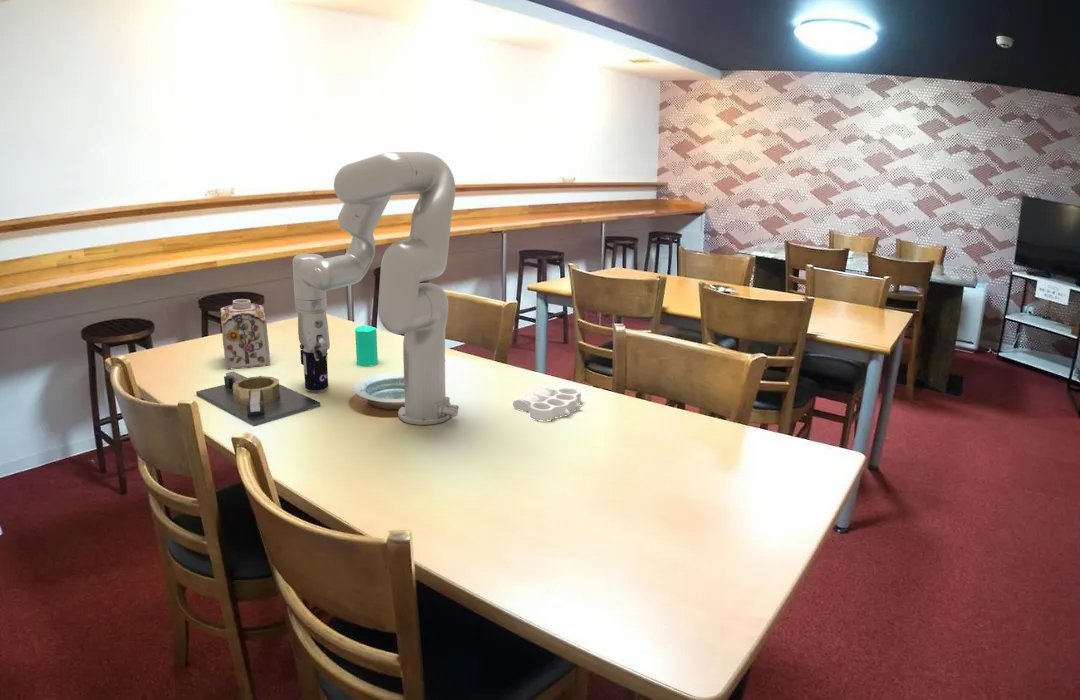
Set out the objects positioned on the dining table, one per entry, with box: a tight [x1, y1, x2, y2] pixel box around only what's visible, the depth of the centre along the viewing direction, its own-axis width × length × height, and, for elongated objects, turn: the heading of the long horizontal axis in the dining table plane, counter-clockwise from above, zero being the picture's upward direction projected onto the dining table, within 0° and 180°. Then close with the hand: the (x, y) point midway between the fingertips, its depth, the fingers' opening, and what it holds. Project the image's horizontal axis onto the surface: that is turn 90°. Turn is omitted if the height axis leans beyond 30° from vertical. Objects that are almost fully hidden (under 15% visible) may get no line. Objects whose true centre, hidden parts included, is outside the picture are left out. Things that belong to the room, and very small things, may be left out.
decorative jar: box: [219, 298, 271, 370], centre depth 198 cm, size 12×12×18 cm
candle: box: [354, 322, 379, 367], centre depth 201 cm, size 6×6×12 cm
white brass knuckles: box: [512, 386, 583, 421], centre depth 172 cm, size 3×18×15 cm
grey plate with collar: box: [195, 370, 322, 427], centre depth 171 cm, size 28×17×4 cm, turn 50°
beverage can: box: [302, 346, 329, 394], centre depth 179 cm, size 6×6×12 cm
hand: (314, 369), depth 179 cm, fingers open, 9 cm apart
